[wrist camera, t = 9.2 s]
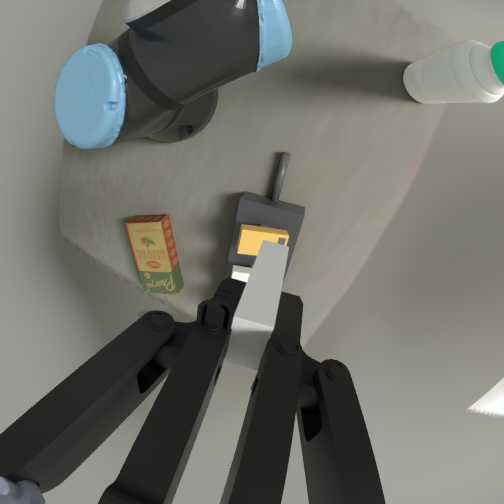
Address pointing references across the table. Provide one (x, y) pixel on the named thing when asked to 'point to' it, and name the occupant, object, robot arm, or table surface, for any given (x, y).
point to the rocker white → (241, 273)
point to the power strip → (266, 219)
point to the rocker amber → (258, 238)
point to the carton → (155, 253)
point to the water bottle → (458, 74)
